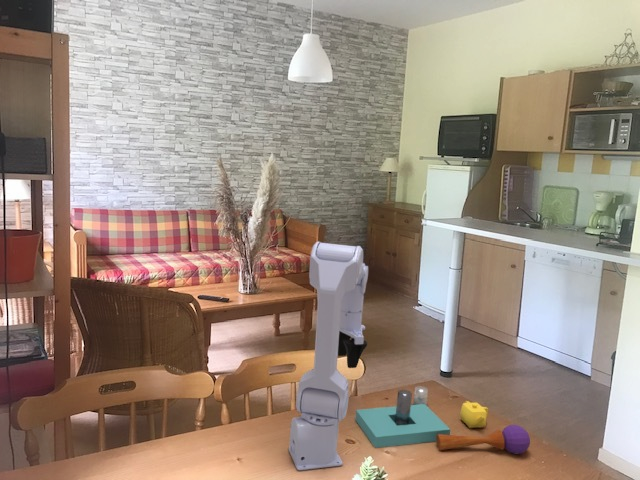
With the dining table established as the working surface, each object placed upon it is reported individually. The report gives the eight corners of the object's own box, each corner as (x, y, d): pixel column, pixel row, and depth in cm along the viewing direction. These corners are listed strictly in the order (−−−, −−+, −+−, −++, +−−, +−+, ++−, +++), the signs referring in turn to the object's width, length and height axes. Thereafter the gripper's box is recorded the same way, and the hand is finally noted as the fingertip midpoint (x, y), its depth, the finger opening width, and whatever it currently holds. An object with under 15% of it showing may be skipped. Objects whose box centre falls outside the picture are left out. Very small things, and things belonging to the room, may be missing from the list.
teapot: (494, 433, 123) (497, 412, 122) (472, 434, 121) (475, 413, 120) (477, 415, 130) (480, 396, 129) (456, 416, 129) (458, 397, 128)
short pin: (416, 409, 131) (418, 392, 131) (411, 403, 134) (412, 386, 134) (428, 408, 132) (430, 391, 132) (422, 402, 135) (424, 385, 135)
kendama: (434, 423, 117) (522, 420, 118) (435, 450, 117) (523, 447, 118) (441, 433, 111) (534, 429, 112) (442, 461, 111) (535, 457, 112)
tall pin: (397, 433, 119) (401, 396, 118) (391, 426, 122) (395, 390, 121) (410, 432, 120) (414, 395, 119) (404, 425, 123) (408, 389, 122)
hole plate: (375, 447, 113) (376, 437, 112) (355, 419, 124) (356, 409, 124) (449, 439, 118) (450, 429, 118) (423, 413, 129) (424, 403, 129)
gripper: (377, 318, 125) (372, 372, 127) (355, 300, 139) (351, 349, 141) (349, 319, 123) (345, 374, 125) (330, 301, 137) (326, 350, 139)
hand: (346, 361), depth 133 cm, fingers open, 7 cm apart
